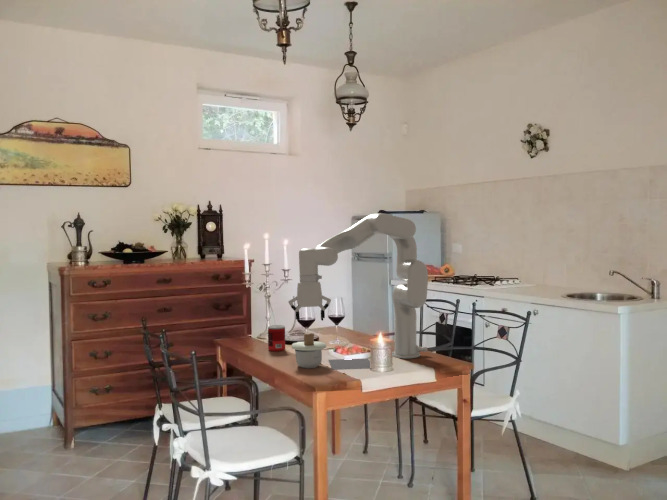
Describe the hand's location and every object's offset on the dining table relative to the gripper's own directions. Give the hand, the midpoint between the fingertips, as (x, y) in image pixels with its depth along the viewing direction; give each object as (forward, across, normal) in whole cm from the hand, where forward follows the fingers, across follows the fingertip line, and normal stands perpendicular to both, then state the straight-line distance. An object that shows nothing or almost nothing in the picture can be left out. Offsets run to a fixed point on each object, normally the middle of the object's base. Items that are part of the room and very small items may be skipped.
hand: (310, 320), depth 241 cm
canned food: (+19, +14, -33) cm, 40 cm away
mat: (+19, -16, 0) cm, 25 cm away
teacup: (+19, +1, 0) cm, 19 cm away
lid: (+11, +1, +1) cm, 11 cm away
